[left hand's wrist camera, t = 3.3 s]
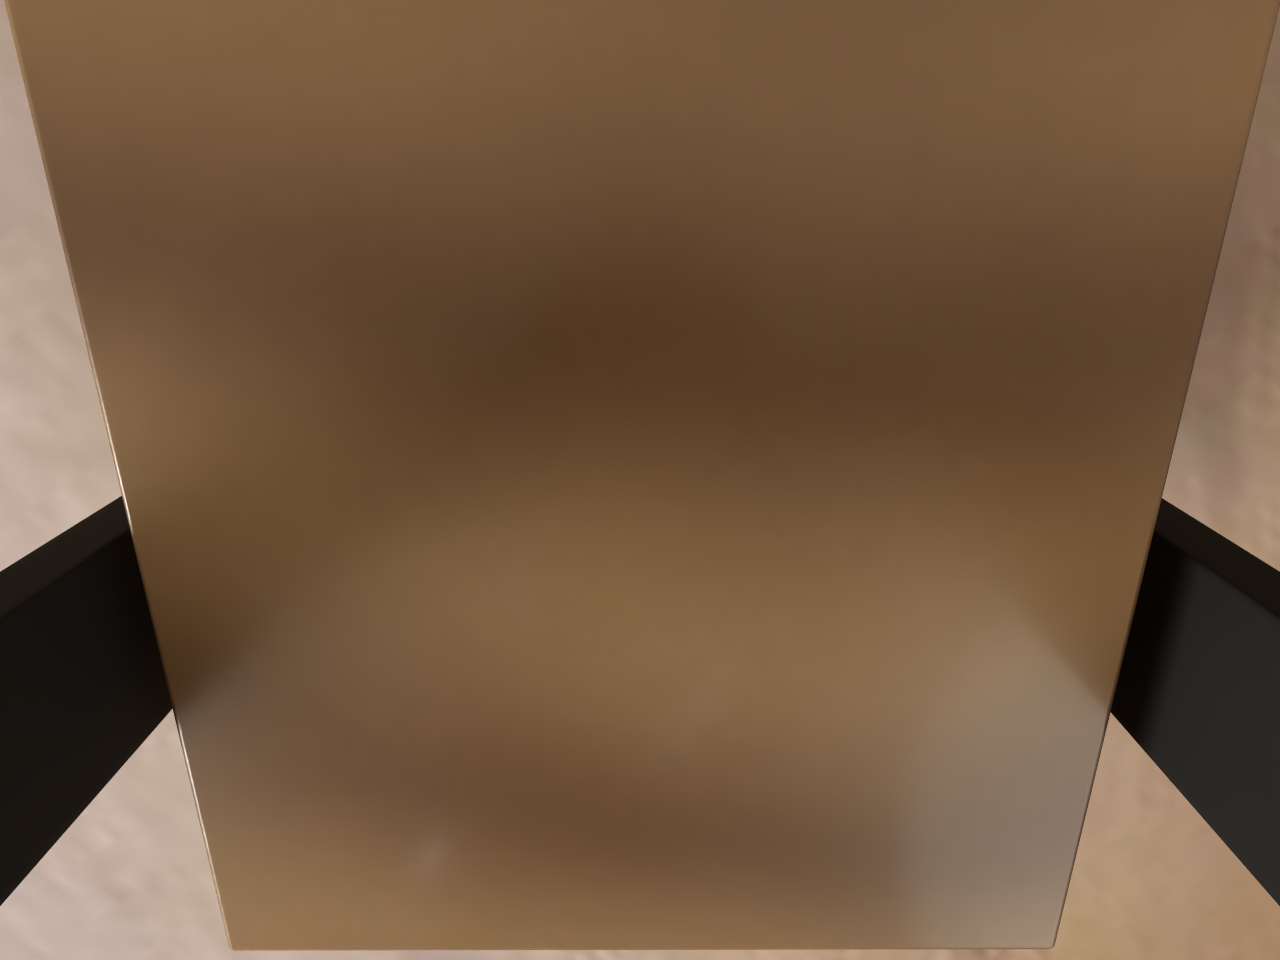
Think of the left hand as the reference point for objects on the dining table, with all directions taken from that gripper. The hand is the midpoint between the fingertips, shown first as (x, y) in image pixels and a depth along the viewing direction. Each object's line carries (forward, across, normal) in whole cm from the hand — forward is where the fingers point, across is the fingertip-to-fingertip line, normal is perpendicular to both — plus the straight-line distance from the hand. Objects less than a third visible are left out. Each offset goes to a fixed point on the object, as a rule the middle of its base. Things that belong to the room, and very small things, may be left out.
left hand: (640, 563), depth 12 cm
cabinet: (+8, 0, -4) cm, 9 cm away
